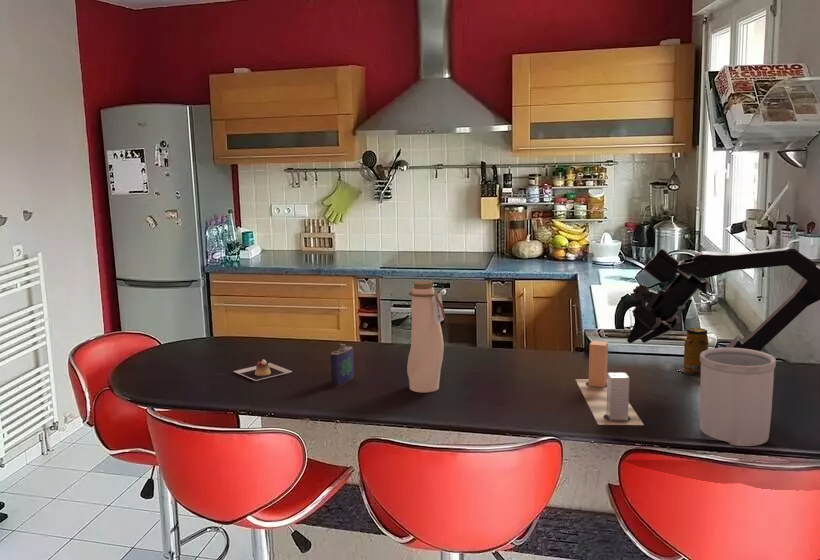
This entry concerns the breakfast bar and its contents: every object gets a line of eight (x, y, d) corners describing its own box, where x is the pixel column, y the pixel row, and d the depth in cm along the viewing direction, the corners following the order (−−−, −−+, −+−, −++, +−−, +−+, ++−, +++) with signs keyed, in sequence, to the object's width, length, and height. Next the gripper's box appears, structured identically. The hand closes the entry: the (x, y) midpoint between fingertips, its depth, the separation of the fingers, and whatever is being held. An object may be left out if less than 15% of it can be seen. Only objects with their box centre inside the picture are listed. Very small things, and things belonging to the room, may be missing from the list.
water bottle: (449, 384, 198) (449, 280, 193) (442, 394, 189) (441, 286, 184) (412, 381, 200) (411, 278, 195) (403, 391, 192) (401, 284, 187)
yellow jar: (690, 366, 210) (692, 325, 208) (719, 373, 204) (721, 330, 202) (676, 371, 206) (678, 329, 204) (705, 378, 199) (707, 335, 197)
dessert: (233, 375, 210) (232, 358, 209) (270, 366, 218) (269, 350, 217) (255, 384, 201) (254, 367, 201) (292, 375, 209) (292, 358, 208)
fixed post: (627, 420, 167) (629, 378, 165) (609, 420, 167) (611, 377, 166) (623, 414, 171) (625, 372, 169) (606, 414, 171) (607, 372, 170)
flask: (348, 377, 205) (346, 339, 203) (357, 378, 204) (356, 340, 202) (329, 386, 197) (327, 347, 195) (338, 388, 196) (337, 348, 194)
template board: (644, 428, 165) (644, 424, 165) (598, 428, 165) (598, 424, 165) (613, 382, 197) (613, 379, 197) (575, 382, 198) (575, 379, 198)
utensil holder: (683, 435, 161) (687, 356, 158) (713, 417, 171) (717, 343, 168) (753, 454, 150) (759, 370, 147) (781, 433, 161) (787, 355, 158)
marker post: (606, 382, 194) (608, 341, 192) (604, 387, 190) (605, 345, 188) (591, 381, 196) (592, 340, 194) (588, 385, 192) (589, 344, 190)
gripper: (665, 275, 193) (626, 320, 199) (638, 271, 178) (597, 320, 184) (698, 304, 188) (657, 349, 193) (673, 302, 173) (630, 351, 179)
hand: (635, 341), depth 188 cm, fingers open, 9 cm apart
